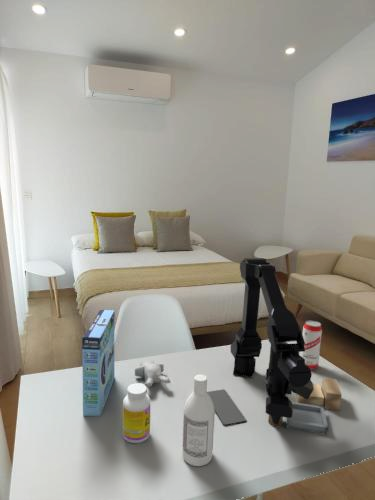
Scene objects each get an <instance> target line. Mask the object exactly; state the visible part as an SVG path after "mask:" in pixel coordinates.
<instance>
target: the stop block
mask: <svg viewBox="0 0 375 500" xmlns="http://www.w3.org/2000/svg"><path fill="white" fill-rule="evenodd" d="M320 387H321V390H322V393H323V396H324V405H323V408H324V409H328V410H333V411H340V410H341V403H342V395H343V393H342V392H341V388H340V385H339V383H338V380H337V379H335V378H333V379H332V378H327V377H326V378H325V377H323V378H322V380H321V386H320Z"/></svg>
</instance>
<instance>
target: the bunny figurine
mask: <svg viewBox="0 0 375 500" xmlns="http://www.w3.org/2000/svg"><path fill="white" fill-rule="evenodd" d="M164 370H165V369H164V364H163V363H155V360H149V361H142V362H140V363H139V366H138V367H135V368H134V376H135V377H140V378H144V385H145V386H146V388H150V387H152V385H153V384H154V383H156V384H159V383H160V382H162V383H165V384H170V383H171V380H170V378H169V377H167V376H164V375H162V374H163V372H164Z"/></svg>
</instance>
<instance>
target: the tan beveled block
mask: <svg viewBox="0 0 375 500" xmlns="http://www.w3.org/2000/svg"><path fill="white" fill-rule="evenodd" d="M313 387H314V390H313V392H312V394H311V395H310V397H309V399H304V398H303V397H302V396H300V395H298V394H295V396H296V398H297V403H302V404H309V405H315V406H322V407H324V396H323V393H322V390H321V387H322V386H321V385H320V384H319V383H313Z"/></svg>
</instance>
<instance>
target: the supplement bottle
mask: <svg viewBox="0 0 375 500" xmlns="http://www.w3.org/2000/svg"><path fill="white" fill-rule="evenodd" d="M147 389H148V387H146V386H145V383H144V384H143V383H140V382H139V383H138V382H136V383H132V384H129V386H128V387H127V391H126V393H127V394H126V396H125V397H124V398H123V402H122V407H123V409H122V435H123V436H122V437H123V438H124V440H125V441H127V442H129V443H130V444H131V443H132V444H139V443H143V442H145V441H146V440H147V439H148V438H149V437H150V435H151V398H150V396H149V395H148V394H147V393H148V392H147V391H148V390H147Z"/></svg>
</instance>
